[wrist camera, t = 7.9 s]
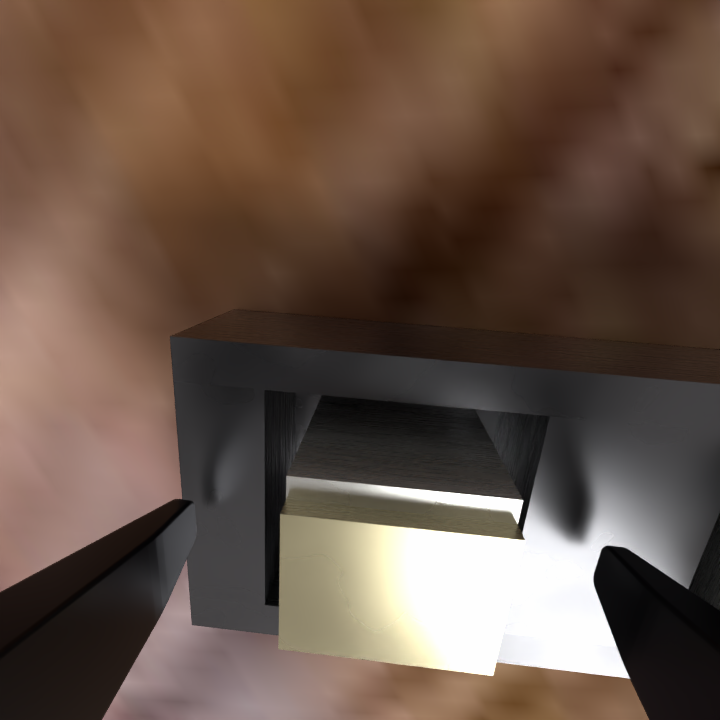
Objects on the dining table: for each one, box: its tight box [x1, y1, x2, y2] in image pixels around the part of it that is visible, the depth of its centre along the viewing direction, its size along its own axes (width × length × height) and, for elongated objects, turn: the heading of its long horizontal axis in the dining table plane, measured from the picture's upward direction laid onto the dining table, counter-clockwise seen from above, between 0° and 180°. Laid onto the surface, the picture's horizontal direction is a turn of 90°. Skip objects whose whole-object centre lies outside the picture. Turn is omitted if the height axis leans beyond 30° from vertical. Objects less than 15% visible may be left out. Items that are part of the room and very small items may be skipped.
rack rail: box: [170, 309, 720, 678], centre depth 10 cm, size 20×8×4 cm, turn 86°
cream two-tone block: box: [279, 395, 525, 676], centre depth 9 cm, size 4×4×5 cm
